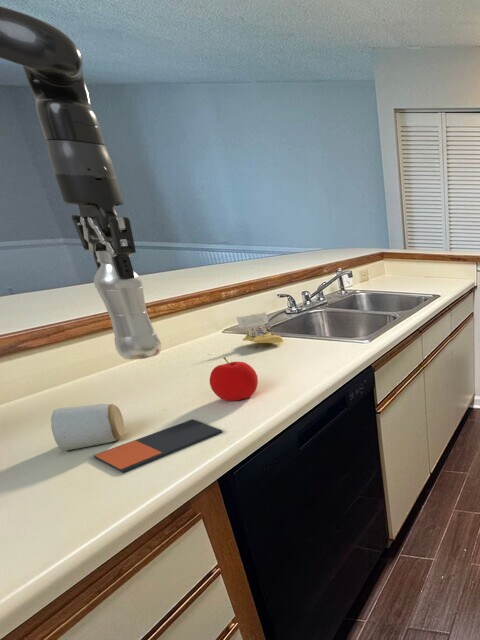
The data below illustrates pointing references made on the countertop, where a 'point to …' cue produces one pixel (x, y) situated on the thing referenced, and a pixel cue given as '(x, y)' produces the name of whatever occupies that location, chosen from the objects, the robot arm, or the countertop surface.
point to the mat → (156, 445)
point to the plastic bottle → (126, 311)
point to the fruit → (233, 381)
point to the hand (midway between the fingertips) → (117, 276)
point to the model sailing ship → (259, 336)
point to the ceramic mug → (86, 425)
